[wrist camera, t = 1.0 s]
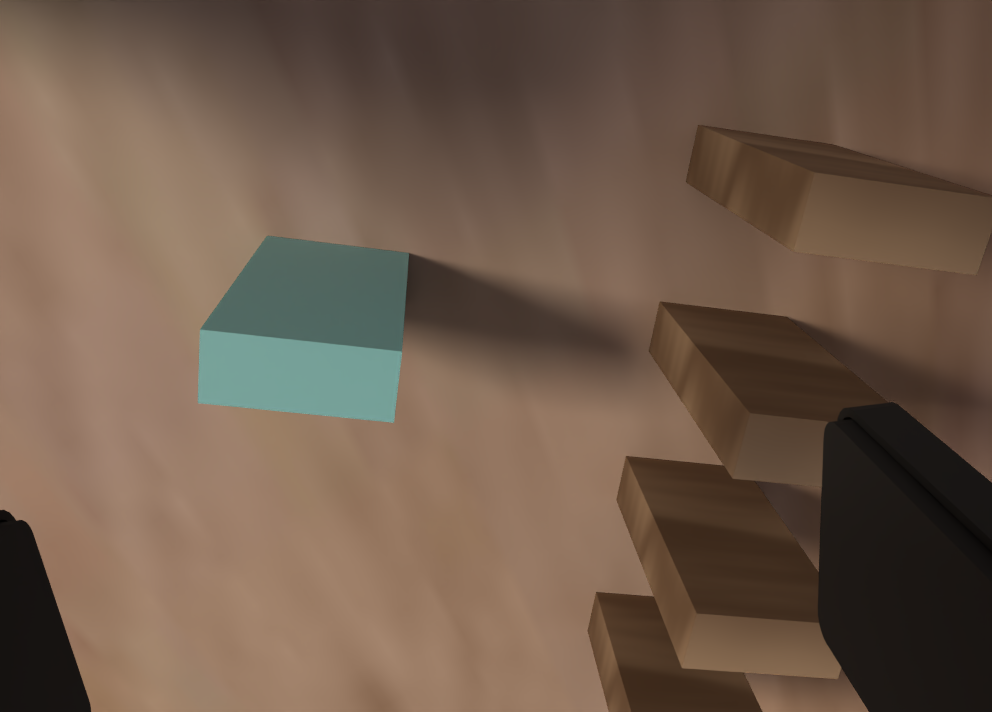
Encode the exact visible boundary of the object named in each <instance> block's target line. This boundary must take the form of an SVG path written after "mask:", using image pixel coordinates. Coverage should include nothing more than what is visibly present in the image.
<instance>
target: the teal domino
mask: <svg viewBox="0 0 992 712" xmlns="http://www.w3.org/2000/svg"><path fill="white" fill-rule="evenodd" d="M408 261H409V253H404V252H396V251H388V250H380V249H372V248H364V247H355V246H347V245H339V244H331V243H323V242H315V241H307V240H298V239H290V238H282V237H274V236H267V237H266V238H265V239H264V241H263V242H262V244H261V245H260V246H259V248H258V249H257V251H256V252H255V253H254V255H253V256H252V258H251V259H250V260H249V262H248V263H247V265H246V266H245V267H244V269H243V270H242V272H241V273H240V274H239V276H238V277H237V279H236V280H235V281H234V283H233V284H232V286H231V287H230V288H229V290H228V291H227V293H226V294H225V295H224V297H223V298H222V300H221V301H220V302H219V304H218V305H217V307H216V308H215V309H214V311H213V312H212V314H211V315H210V316H209V318H208V319H207V321H206V322H205V323H204V325H203V326H202V328H201V329H200V349H199V381H198V403H203V404H213V405H223V406H233V407H243V408H253V409H263V410H273V411H283V412H293V413H303V414H313V415H323V416H333V417H343V418H353V419H363V420H373V421H383V422H393V423H394V417H395V408H396V399H397V391H398V382H399V373H400V365H401V356H402V345H403V331H404V317H405V303H406V289H407V275H408Z"/></svg>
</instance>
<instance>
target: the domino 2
mask: <svg viewBox="0 0 992 712" xmlns="http://www.w3.org/2000/svg"><path fill="white" fill-rule="evenodd" d="M649 352H650V354H651V355H652V357H653V358H654V360H655V361H656V363H657V364H658V366H659V367H660V369H661V370H662V372H663V373H664V375H665V377H666V378H667V380H668V381H669V383H670V384H671V386H672V387H673V389H674V390H675V392H676V393H677V395H678V396H679V398H680V399H681V401H682V402H683V404H684V405H685V407H686V408H687V410H688V412H689V413H690V415H691V416H692V418H693V419H694V421H695V422H696V424H697V425H698V427H699V428H700V430H701V431H702V433H703V434H704V436H705V437H706V439H707V440H708V442H709V444H710V445H711V447H712V448H713V450H714V451H715V453H716V454H717V456H718V457H719V459H720V460H721V462H722V463H723V465H724V466H725V468H726V469H727V471H728V472H729V474H730V475H731V477H732V479H741V480H752V481H762V482H772V483H782V484H793V485H803V486H813V487H822V467H823V438H824V429H825V427H826V424H827V423H828V422H833V421H837V419H838V416H839V413H840V411H841V410H842V409H843V408H849V407H857V406H865V405H874V404H882V403H888V402H887V401H886V400H885V399H883V398H882V397H881V396H880V395H879V394H877V393H876V392H875V391H874V390H873V389H872V388H870V387H869V386H868V385H867V384H866V383H864V382H863V381H862V380H861V379H860V378H858V377H857V376H856V375H855V374H854V373H853V372H851V371H850V370H849V369H848V368H847V367H845V366H844V365H843V364H842V363H841V362H840V361H838V360H837V359H836V358H835V357H834V356H832V355H831V354H830V353H829V352H828V351H826V350H825V349H824V348H823V347H822V346H821V345H819V344H818V343H817V342H816V341H815V340H813V339H812V338H811V337H810V336H809V335H808V334H806V333H805V332H804V331H803V330H802V329H800V328H799V327H798V326H797V325H796V324H794V323H793V322H792V321H791V320H790V319H789V318H787V317H783V316H775V315H767V314H759V313H750V312H742V311H734V310H725V309H717V308H709V307H700V306H692V305H684V304H676V303H667V302H660V303H659V308H658V312H657V317H656V321H655V326H654V330H653V335H652V340H651V344H650V349H649Z"/></svg>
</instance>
